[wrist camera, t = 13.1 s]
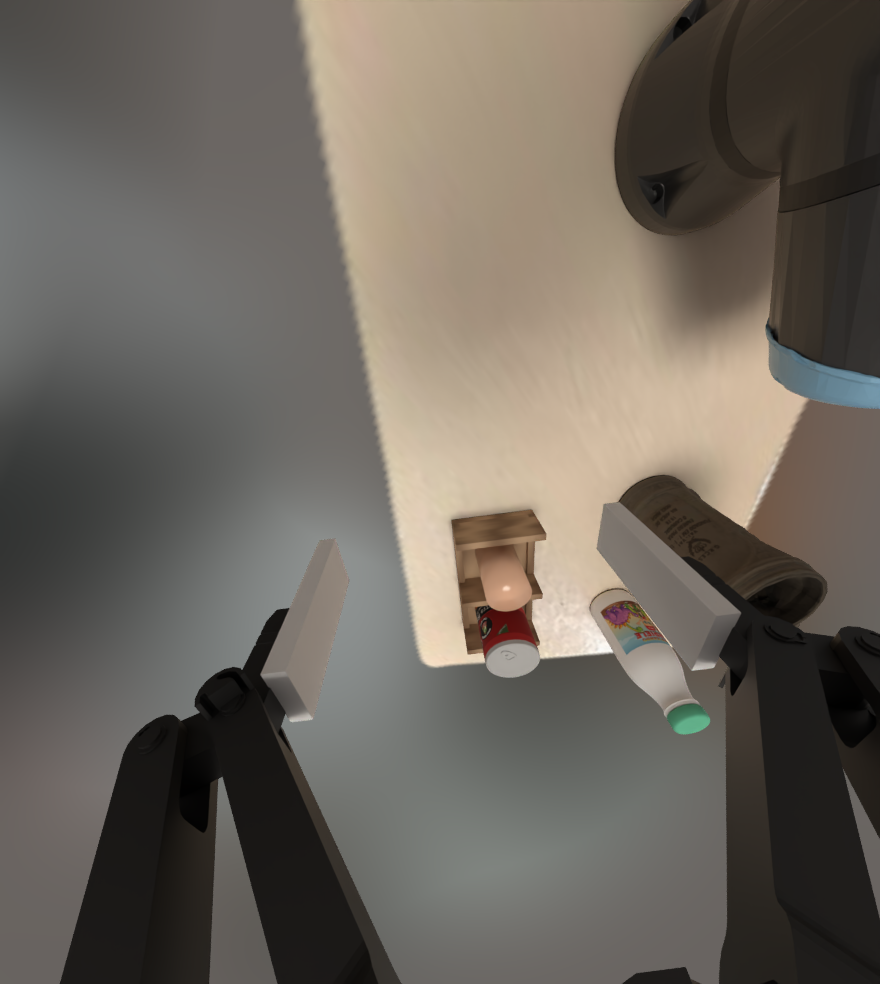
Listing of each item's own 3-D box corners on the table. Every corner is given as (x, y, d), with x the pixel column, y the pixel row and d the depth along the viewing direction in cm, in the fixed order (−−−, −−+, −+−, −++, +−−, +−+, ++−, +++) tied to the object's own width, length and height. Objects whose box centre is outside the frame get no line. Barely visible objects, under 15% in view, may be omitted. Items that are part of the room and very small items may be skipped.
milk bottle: (623, 617, 60) (708, 740, 43) (584, 618, 60) (653, 743, 42) (637, 587, 56) (735, 708, 39) (595, 588, 56) (676, 711, 38)
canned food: (490, 577, 52) (506, 637, 42) (528, 594, 54) (552, 653, 45) (464, 607, 55) (474, 669, 45) (502, 621, 57) (519, 683, 47)
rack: (531, 509, 47) (546, 533, 42) (528, 615, 58) (539, 645, 53) (451, 520, 47) (455, 545, 42) (463, 624, 58) (467, 654, 53)
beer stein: (595, 519, 49) (704, 636, 32) (645, 461, 44) (803, 559, 27) (661, 548, 54) (786, 661, 37) (712, 497, 49) (880, 600, 32)
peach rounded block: (513, 532, 48) (532, 575, 40) (513, 563, 51) (531, 608, 43) (473, 537, 48) (485, 581, 40) (476, 568, 51) (486, 614, 43)
